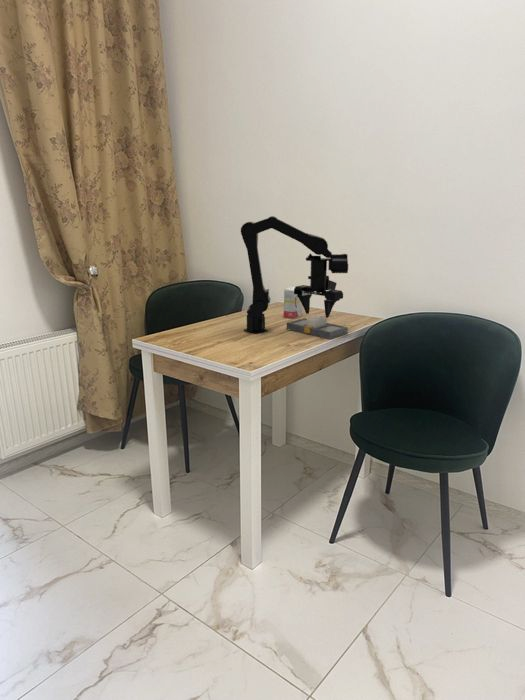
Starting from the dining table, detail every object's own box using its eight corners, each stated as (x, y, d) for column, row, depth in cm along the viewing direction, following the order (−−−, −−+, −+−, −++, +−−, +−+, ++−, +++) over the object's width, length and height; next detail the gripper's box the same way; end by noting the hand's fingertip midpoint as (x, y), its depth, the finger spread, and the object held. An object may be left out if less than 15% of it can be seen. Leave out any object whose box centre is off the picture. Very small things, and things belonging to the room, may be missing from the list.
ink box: (293, 318, 204) (293, 290, 200) (283, 317, 206) (283, 289, 203) (303, 314, 211) (303, 287, 207) (292, 313, 213) (293, 286, 210)
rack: (329, 339, 173) (329, 332, 172) (286, 329, 187) (286, 322, 186) (347, 333, 181) (347, 326, 180) (304, 324, 194) (304, 317, 194)
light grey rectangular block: (314, 332, 180) (315, 320, 179) (306, 330, 183) (306, 319, 181) (326, 329, 185) (326, 317, 184) (318, 327, 188) (318, 315, 186)
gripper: (353, 273, 177) (351, 316, 181) (312, 268, 189) (311, 308, 194) (334, 276, 169) (332, 321, 174) (293, 271, 182) (292, 313, 186)
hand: (317, 315), depth 182 cm, fingers open, 9 cm apart
